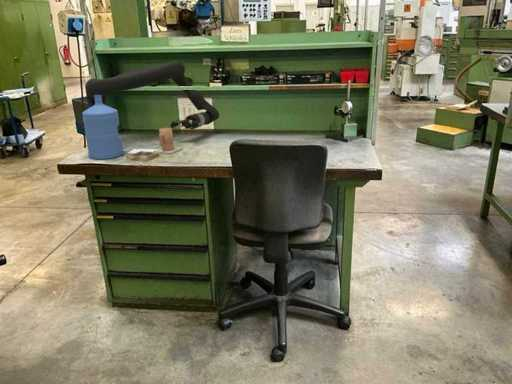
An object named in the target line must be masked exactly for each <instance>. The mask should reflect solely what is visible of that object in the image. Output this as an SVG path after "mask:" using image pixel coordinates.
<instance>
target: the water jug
mask: <svg viewBox="0 0 512 384" xmlns="http://www.w3.org/2000/svg"><path fill="white" fill-rule="evenodd" d="M101 96H102V95H94V97H95V105H94V106H92V107H90V108H87V109H86V110H83V112H82V114H81V115H82V122H83V127H84V132H85V141H86V145H87V151H88V152H87V153H88V155H87V156H88V157H89V158H90V159H93V160H110V159H116V158H119V157H120V156H122V155H124V148H123V142H122V139H121V137H119V131H118V126H119V125H120V120H119V119H120V117H119V111H118V110H117V109H116V108H113V107H110V106H108V105H107V106H106V105H104V104H103V103H102V98H101Z"/></svg>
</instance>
